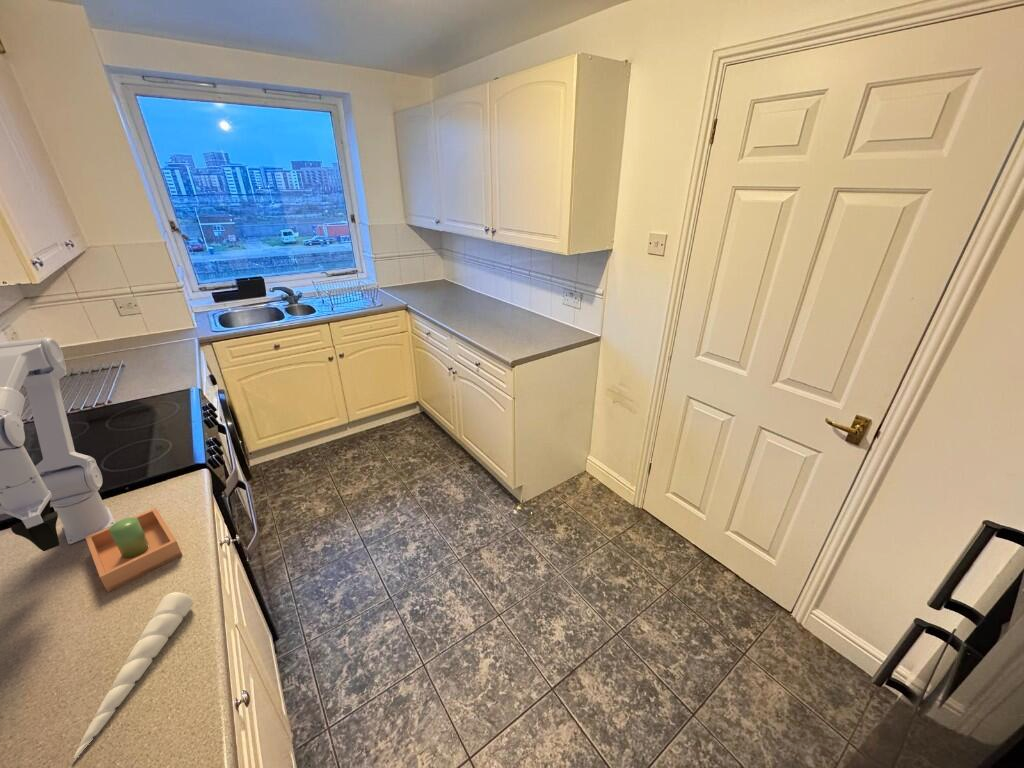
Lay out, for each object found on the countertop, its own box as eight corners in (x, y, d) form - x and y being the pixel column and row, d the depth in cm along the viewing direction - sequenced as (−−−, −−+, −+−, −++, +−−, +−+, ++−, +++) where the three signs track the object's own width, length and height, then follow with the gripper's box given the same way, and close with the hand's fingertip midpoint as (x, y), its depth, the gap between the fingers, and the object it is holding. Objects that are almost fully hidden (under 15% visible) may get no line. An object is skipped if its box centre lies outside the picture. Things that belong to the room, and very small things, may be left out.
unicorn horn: (44, 766, 56) (28, 746, 54) (172, 607, 77) (163, 589, 76) (81, 765, 56) (65, 745, 54) (198, 607, 78) (190, 588, 76)
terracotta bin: (92, 551, 89) (85, 537, 88) (161, 521, 98) (155, 507, 96) (107, 592, 80) (99, 577, 78) (182, 555, 89) (176, 540, 87)
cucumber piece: (119, 551, 88) (107, 526, 86) (146, 539, 92) (134, 514, 89) (124, 562, 86) (111, 536, 83) (151, 549, 89) (140, 523, 86)
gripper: (-21, 474, 76) (15, 531, 81) (-19, 509, 67) (21, 570, 73) (35, 457, 81) (65, 512, 86) (44, 487, 72) (76, 546, 78)
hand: (48, 537), depth 80 cm, fingers open, 7 cm apart
